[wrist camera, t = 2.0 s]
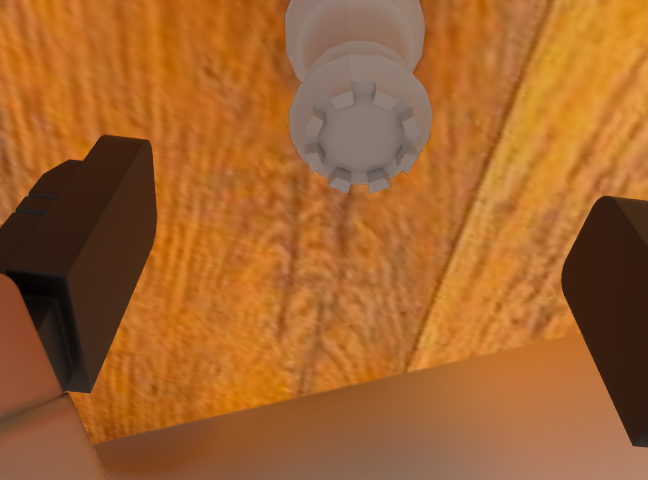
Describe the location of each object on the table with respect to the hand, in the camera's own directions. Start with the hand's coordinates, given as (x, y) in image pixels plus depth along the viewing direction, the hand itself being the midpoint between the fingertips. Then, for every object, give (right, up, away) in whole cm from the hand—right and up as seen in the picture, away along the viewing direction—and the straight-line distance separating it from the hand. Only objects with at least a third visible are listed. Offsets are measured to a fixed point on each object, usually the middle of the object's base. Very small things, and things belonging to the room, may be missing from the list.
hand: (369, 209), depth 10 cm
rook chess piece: (0, +7, +8) cm, 11 cm away
